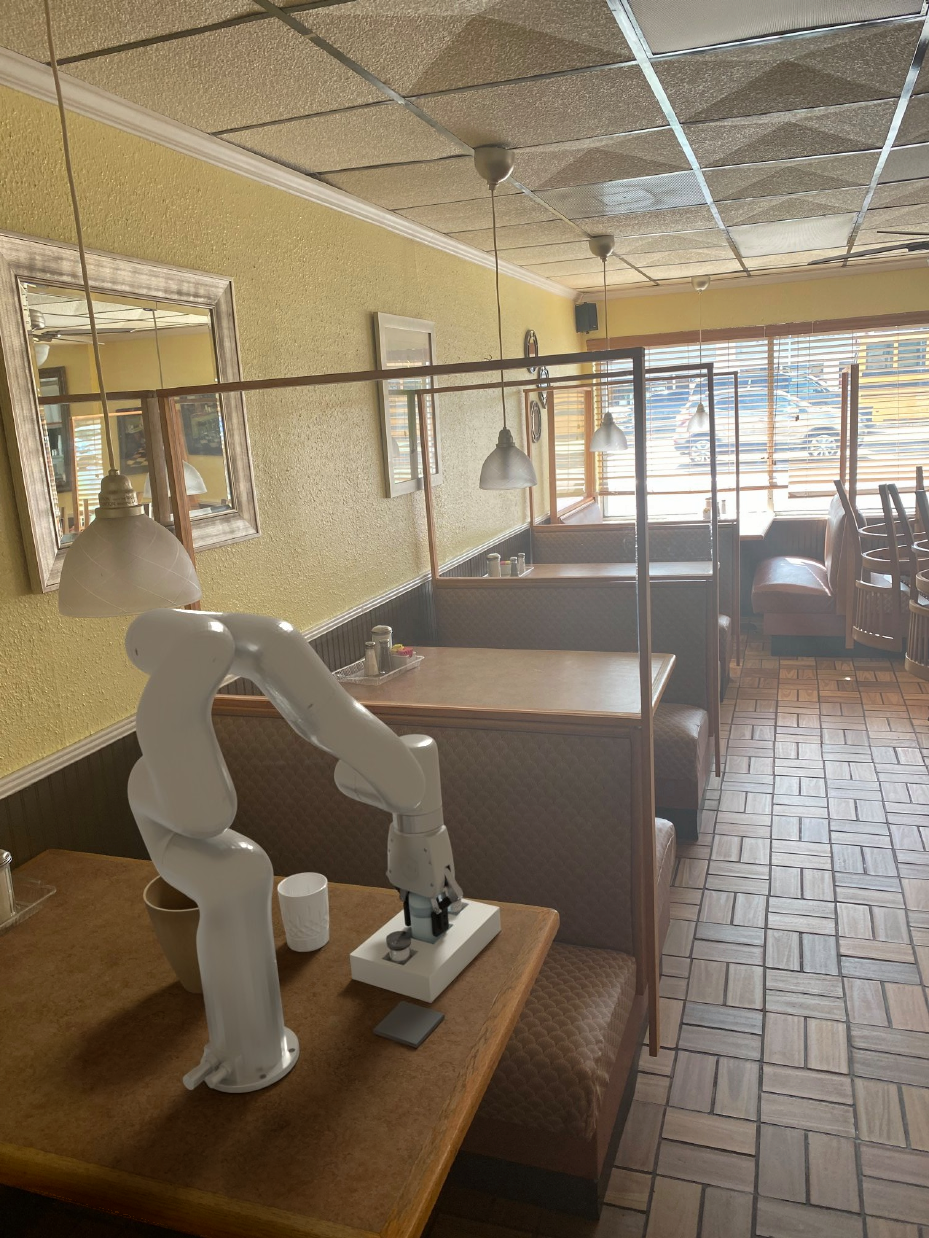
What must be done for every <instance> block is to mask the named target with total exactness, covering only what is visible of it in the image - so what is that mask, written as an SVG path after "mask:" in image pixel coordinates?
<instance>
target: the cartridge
mask: <svg viewBox="0 0 929 1238" xmlns="http://www.w3.org/2000/svg"><path fill="white" fill-rule="evenodd" d="M438 898H439V902H441V898H440V895H439V896H438ZM409 910H410V917H411V929H412V939H416V940H419V941H423V942H427V943H430V944H434V943H435V942H436V941H437V940H438V939H440V938H441V937H442V936H443V933H442V934H441V935H439V936H438V937H435V936H433V934H432V921H431V913H432V912H433V911H434V909H433V906H432V902H431V899H430V898H428V897H425V896H422V895H419V894H416V893H413V892H410V893H409Z"/></svg>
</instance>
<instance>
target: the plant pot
mask: <svg viewBox="0 0 929 1238" xmlns="http://www.w3.org/2000/svg"><path fill="white" fill-rule="evenodd" d="M142 897H143V901H144V906H145V907H146V908H145V909H146V910H147V913H148V914H147V915H148V917H149V920H150V923H151V926H152V928H153V931H154V933H155V935H156V938H157V940H158V943H159V945H160V947H161V950H162V951H163V955H165V956H164V957H165V958H166V959H167V962H168V963H169V965H170V967H171V968H172V970H173V973H174V974H175V976H176V977H177V978H178V980H179V981H180V983H181V985H182V986H183V988H184V989H185V990H186V991H188V992H189V993H192V994H203V988H202V981H201V974H200V967H199V962H198V954H197V943H196V936H197V929H198V925H199V920H200V910H199V907H198V905H197V903H196V902H195V901H194V900H192V899H191V898H189V897H188V896H187V895H185V894H184V893H182V892H180V891H179V890H177V889H176V888H174V887H173V886H171V885H170V884H168V883H167V882H166V881H165V880H164V879H163V878H162V877H161V876H160V874H158V875H157V876H156V877H154V878H153V879H152V880H151V881H150V882H149V883H148V884H147V885H146V887H145V888H144V890H143V894H142Z"/></svg>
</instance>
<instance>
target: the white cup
mask: <svg viewBox="0 0 929 1238" xmlns="http://www.w3.org/2000/svg"><path fill="white" fill-rule="evenodd" d="M328 888H329V887H328V879H327V877H326V876H325V875H323V874H321V873H319V872H301V873H296V874H292V875H290V876H287V877H286V878H284V879H283V880H281V881H280V882H279V883H278V884H277V888H276V891H277V895H278V901H279V906H280V907H279V908H280V913H281V918H282V924H283V928H284V930H285V938H286V943H287V946H288V947H289V949H290V950H292V951H295V952H298V953H299V952H301V953H305V952H306V953H307V952H308V953H309V952H312V951H316V950H319V949H320V948H322V947H325V946H326V944H327V943H328V942H329V940H330V927H329V925H330V907H329V905H330V904H329V890H328Z"/></svg>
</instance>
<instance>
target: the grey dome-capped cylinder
mask: <svg viewBox="0 0 929 1238" xmlns="http://www.w3.org/2000/svg"><path fill="white" fill-rule="evenodd" d="M386 943H387V947H388V948H389V953H390V962H393V963H397V964H400V965H405V964H406V963H407V962H408V961H409V960H410V947H409V946H410V945H411V936H410V934H409V933H408V932H405V931H395V932H392V933H390V934H389V935H388V936H387V937H386Z"/></svg>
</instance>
